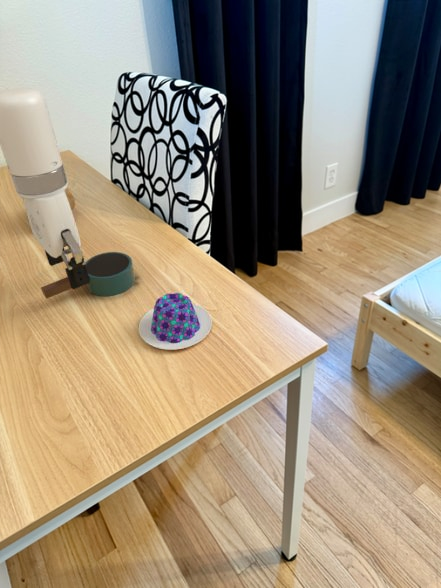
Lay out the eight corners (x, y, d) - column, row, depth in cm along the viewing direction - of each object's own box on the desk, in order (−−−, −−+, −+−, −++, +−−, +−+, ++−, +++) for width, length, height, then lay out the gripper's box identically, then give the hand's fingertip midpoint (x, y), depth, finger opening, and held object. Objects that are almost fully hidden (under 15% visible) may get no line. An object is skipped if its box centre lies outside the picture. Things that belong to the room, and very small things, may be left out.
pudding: (226, 333, 69) (225, 307, 66) (160, 364, 64) (155, 338, 61) (188, 296, 77) (186, 272, 74) (127, 321, 72) (122, 297, 69)
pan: (121, 263, 87) (117, 246, 84) (143, 283, 81) (140, 264, 79) (39, 296, 79) (33, 278, 76) (58, 321, 73) (52, 301, 71)
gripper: (-2, 171, 69) (31, 262, 79) (35, 204, 57) (68, 305, 68) (43, 159, 72) (69, 247, 82) (87, 188, 61) (111, 286, 71)
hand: (69, 273), depth 75 cm, fingers open, 9 cm apart
